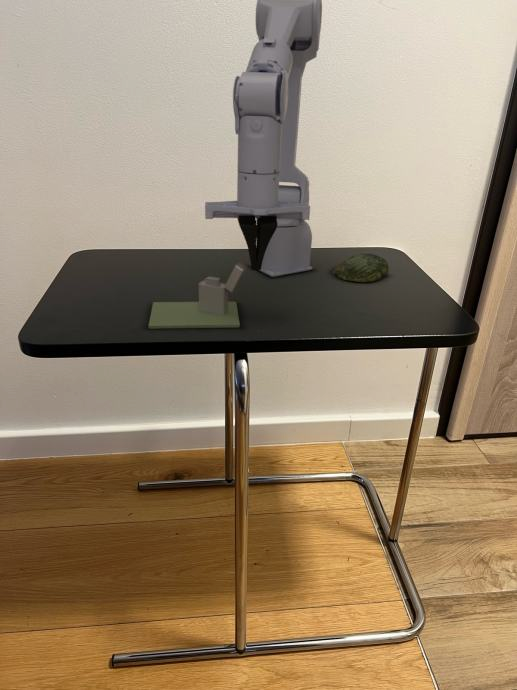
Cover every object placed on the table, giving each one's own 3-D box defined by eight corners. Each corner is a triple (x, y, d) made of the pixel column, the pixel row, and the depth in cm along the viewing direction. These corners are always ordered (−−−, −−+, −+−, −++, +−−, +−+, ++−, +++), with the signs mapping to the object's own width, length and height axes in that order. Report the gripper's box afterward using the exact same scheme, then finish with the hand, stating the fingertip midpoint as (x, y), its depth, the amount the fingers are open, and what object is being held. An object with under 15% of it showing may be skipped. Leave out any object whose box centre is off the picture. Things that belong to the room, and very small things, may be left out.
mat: (236, 304, 86) (236, 301, 86) (239, 327, 78) (239, 324, 78) (153, 305, 85) (153, 302, 85) (148, 328, 77) (148, 325, 77)
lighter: (198, 310, 82) (197, 260, 79) (203, 306, 84) (202, 256, 80) (242, 318, 80) (243, 266, 77) (246, 314, 82) (247, 263, 78)
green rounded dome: (337, 243, 105) (390, 248, 103) (335, 263, 107) (387, 268, 105) (333, 262, 96) (390, 267, 95) (331, 283, 98) (387, 289, 97)
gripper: (204, 174, 69) (206, 276, 75) (317, 176, 70) (309, 276, 76) (204, 166, 75) (205, 261, 81) (307, 168, 77) (301, 261, 83)
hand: (255, 267), depth 79 cm, fingers closed
